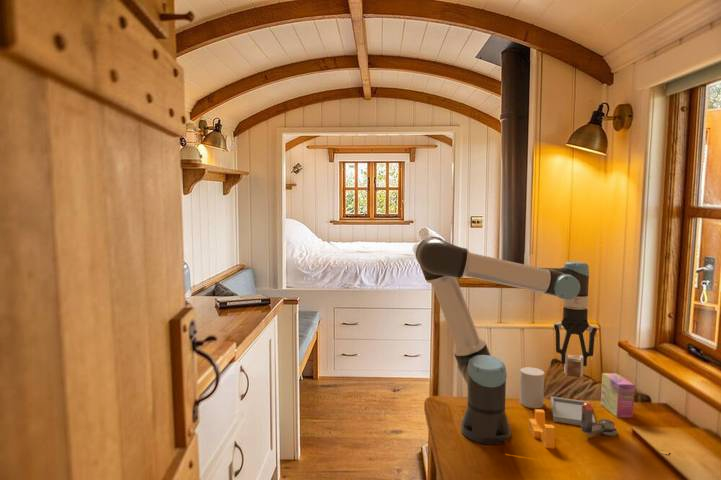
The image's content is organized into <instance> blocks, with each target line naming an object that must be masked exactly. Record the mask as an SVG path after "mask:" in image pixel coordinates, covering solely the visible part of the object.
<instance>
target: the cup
mask: <svg viewBox="0 0 721 480" xmlns="http://www.w3.org/2000/svg"><path fill="white" fill-rule="evenodd" d="M519 372H520V375H519V376H520V377H519V404H521V405H522V406H523V407H526V408H528V409H529V408H530V409H541V408H542V407H544V399H545V398H544V397H545V395H544V394H545V392H544V391H545V390H544V389H545V372H544V370H542V369H540V368H537V367H530V366H527V367H522V368H520V371H519Z"/></svg>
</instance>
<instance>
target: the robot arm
mask: <svg viewBox="0 0 721 480" xmlns="http://www.w3.org/2000/svg"><path fill="white" fill-rule="evenodd" d="M415 259H416V261H417V263H418V264H419V266H420V268H421V271H422V275H423V276H424V277H423V278H424V279H425V281H426V282H427V283H430V284H431V285H432V288H433V291H434V293H435V296H436V298H437V302H438V304H439V306H440V309H441V311H442V313H443V314H442V315H443V318H444V320H445V322H446V324H447V325H446V326H447V327H448V330H449V332H450V336H451V338H452V340H453V341H452V342H453V343H454V345H455V347H454V349H453V351H452V352H453V355H454V358H455V360H456V364H457V368H458V370H459V373H460V374H461V376H462V377H463V379H464V382H465V383H466V385H467V397H466V401H467V404H466V405H467V406H466V408H465V412H464V415H463V418H462V419H461V428H460V429H461V430H460V431H461V433H462V434H463V436H465V438H468V439H469V440H471V441H473V442H476V443H479V444H482V445H489V446H492V445H495V446H496V445H502V444H504V443H505V442H507V441H508V440H509V439H510V438H511V431H512V430H511V425H510V422H509V420H508V416H507V413H506V391H507V390H506V389H507V386H506V385H507V367H506V365H505V363H504V361H502V360H501V359H499V358H497V357H495V356H492V355H491V353H490V351H489V347H488V345H487V343H486V341H485V340H483V339H481V338H480V336H479V334H478V332H477V329H476V326H475V323H474V321H473V318H472V315H471V312H470V311H469V308H468V305H467V302H466V299H465V298H464V295H463V292H462V289H461V286H460V284H459V281H458V280H457V279H462V278H464V277H467V278H473V279H478V280H480V281H481V280H483V281H487V282H491V283H494V284H500V285H505V286H510V287H514V288H519V289H523V290H527V291H532V292H537V293H543V294H546V295H549V296H550V295H551V296H555V297H557V298H559V299H563V308H562V309H563V311H562V320H561V322H554V323H553V329H555V351H556V353H558V354H560V357H561V358H560V361H561V362H560V363H561V365H564V366H563V367H564V370H563V372H564V373H563V374H564V375H567V367H568V355H569V354H568V353H567V351H568V347H569V344H570V338H571V336H572V335H578V338H579V344H580V348H581V353H582V354H581V355H580V354H579V356H580V358H581V373H580V377H584V367H587V365H588V364H587V362H588V357H593V356H594V349H595V336H596V333H597V331H598V328H597V327H596V326H595V325H591V324H589V322H588V314H589V311H588V307H589V279H590V267H589V264H588V263H586V262H582V261H566V262H564V265H563V267H538V266H532V265H529V264H528V265H527V264H524V263H518V262H514V261H510V260H505V259H501V258H496V257H491V256H487V255H482V254H477V253H474V252H470V251H469V249H468V248H465V247H461V246H458V245H455V244H452V243H451V242H448V241H447V240H444V239H443V238H441V237H438V236H430V237H427V238H424V239H423V240H422V241H420V242H419V244H418V245H417V247H416V249H415ZM562 327H563V328H564V330H565V336H564V339H563V344H562V347H561V331H560V330H562ZM586 330H588V332H589V335H588V336H589V337H588V338H589V340H588V351H587V347H586V344H585V338H584V333H585V332H586Z"/></svg>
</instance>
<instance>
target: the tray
mask: <svg viewBox="0 0 721 480" xmlns="http://www.w3.org/2000/svg"><path fill="white" fill-rule="evenodd" d="M584 403H590V402H589V401H585V400H579V399H571V398H566V397H565V398H564V397H558V396H557V397H556V396H550V407H551V413H552V414H551V415H552V421H553V422H556V423H562V424H568V425H574V426H580V427H581V418H582V405H583V404H584ZM594 425H597V421H596V419H595V415H593V418H592V426H594Z"/></svg>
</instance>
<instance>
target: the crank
mask: <svg viewBox="0 0 721 480" xmlns="http://www.w3.org/2000/svg"><path fill="white" fill-rule="evenodd" d="M593 412H594V407H593V405H592V404H591V403H590V402H589V403H584V404H583V405H582V418H581V426H580V427H581V428H580V430H581V431H582V432H583V433H584V434H587V435H588V436H592V435H595V434H596V435H597V434H599V432H603V431H607V432H612V431H614V428H615V422H614V421H612V420H610V419H606V418H599V419H598V422H597V423H598V424H597V423H596V425H594V426H592V418H593V416H594V414H593Z"/></svg>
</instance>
